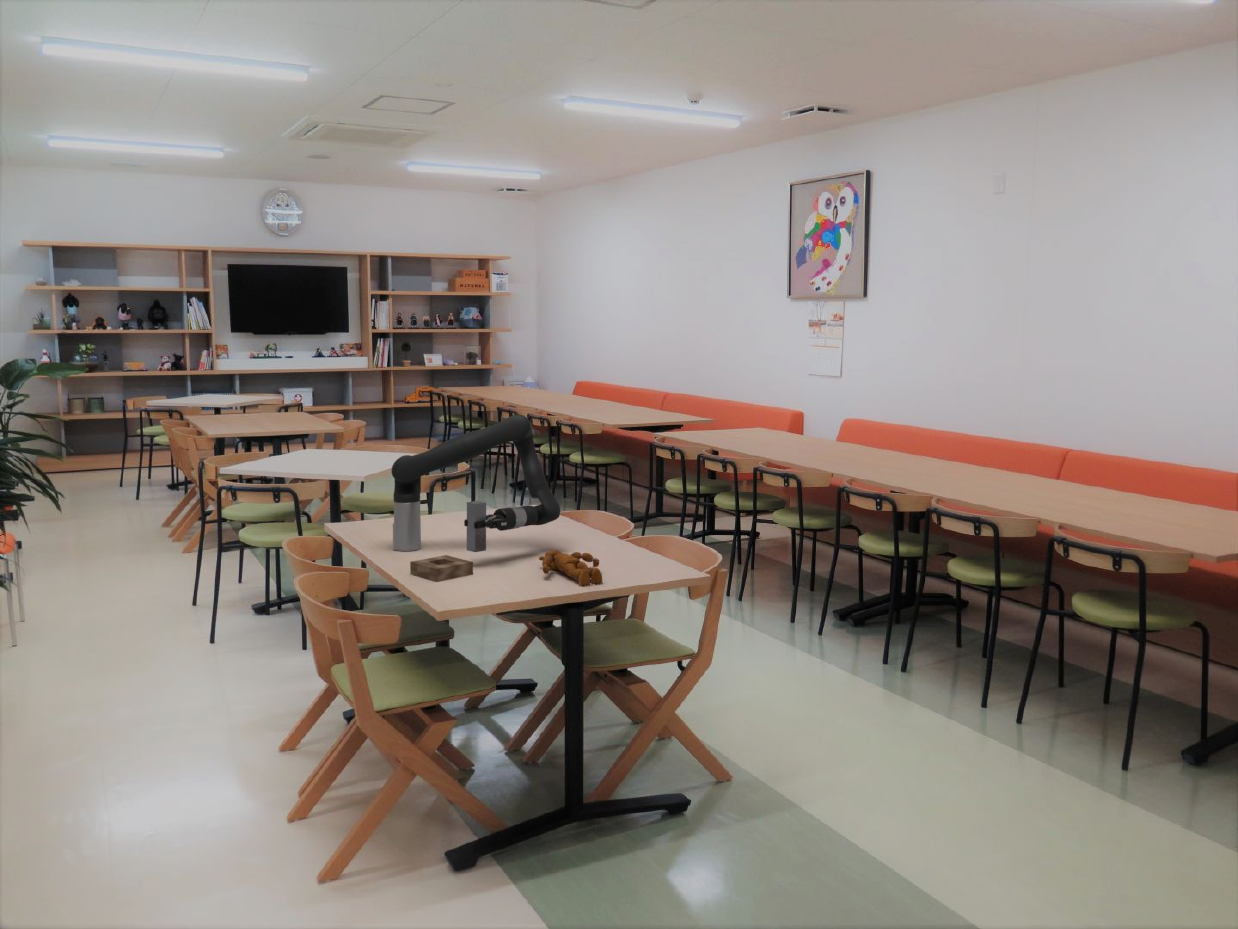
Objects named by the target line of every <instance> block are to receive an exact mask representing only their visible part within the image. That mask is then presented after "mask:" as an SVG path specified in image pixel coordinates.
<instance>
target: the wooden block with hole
mask: <svg viewBox="0 0 1238 929" xmlns="http://www.w3.org/2000/svg"><path fill="white" fill-rule="evenodd" d="M409 563H410V566H409V567H410V568H409V569H410V571H409V572H410V575H411V576H415V577H419V578H422V579H426V580H429V581H433V582H436V583H437V582H442V581H448V580H451V579H452V580H453V579H456V578H461V577H462V578H463V577H467V576H471V575H474V562H473V561H470V560H467V559H463V558H459V557H456V556H451V555H447V554H445V555H440V556H435V557H430V558H424V559H423V558H422V559H419V560H412V561H410V562H409Z"/></svg>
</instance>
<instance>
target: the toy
mask: <svg viewBox="0 0 1238 929" xmlns="http://www.w3.org/2000/svg"><path fill="white" fill-rule="evenodd" d="M538 560H540V561H542V562H541V566H542V572H543V573H544V574H545V575H547V574H549V572H550V571H561V572H562V573H564V574H566V575H567V576H568V577H570V578H573V579H574V580H576V581H578V586H579V587H580V586H582V587H586V586H587V585H589V586H591V585H592V584H595V583H596V584H595V585H598V584H597V583H602V584H603V574H602V573H601V570H600V569H599V565H600V559H599V558H596V557H595V558H594V555H592V554H591V553H587V552H583V553H581V552H578V551H574V552H572V553H571V554H568V553H566V552H562V551H561V550H558V549H557V550H550V551H548V552H546V553H545V554H544V556H539V557H538ZM581 560H582V561H581ZM585 562H586V563H585ZM587 563H592V566H588V564H587ZM583 585H584V586H583ZM585 585H586V586H585Z"/></svg>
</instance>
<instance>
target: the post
mask: <svg viewBox="0 0 1238 929" xmlns="http://www.w3.org/2000/svg"><path fill="white" fill-rule="evenodd" d="M486 515H487V502H485V501H481V500H474V501H467V502H466V519H467V526H466V551H469V552H473V553H478V552H479V553H480V552H485V551H487V528H478V529H475V528H474V522H478V521H484V520H486Z"/></svg>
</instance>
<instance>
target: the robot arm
mask: <svg viewBox="0 0 1238 929" xmlns="http://www.w3.org/2000/svg"><path fill="white" fill-rule="evenodd" d="M511 442H512V443H513V445H514V447H515V449H516V451H517V454H518V456H519V457H518V458H519V459H520V464H521V468H522V473H523V477H524V481H525V484H526V487H527V489H528V494H529V495H530V497H531V498H532V499H538V500H539V502H540V504H538V505H535V506H533V505H520V506H509V507H501V508H496V509H495V511H494V513H491V514H490V513H489V514H486V520H484V521H478V522H474V528H475V529H478V528H486V529H491V530H492V529H497V530H498V531H502V532H503V531H509V530H515V529H519V528H523V527H530V526H541V525H546V524H549V523H550V522H551V523H552V522H554V521H556V520H558V519H559V517H560V516H561V508H560V504H559V502H558V501H557V499H556V498H555V496H554V494H553V492H552V491H551V490H550V488H549V486H548V485H549V484H548V481H547V479H546V476H545V473H544V470H543V467H542V465H541V462H540V459H539V457H538V454H537V451H536V447H535V441H534V434H533V425H532V423H531V421H530V419H529V418H527V417H526V416H525V415H523V414H513V415H511V416H508V417H507V418H505V419H503V420H501V421H498V422H497V423H495V424H492V425H489V426H487V427H482V428H479V429H476V430H474V431H470V432H467V433H463V434H461V435H458V436H455V437H452V438H450V439H448V440H446V441H443V442H442V443H440V444H437V445H435V447H432V448H431V449H429V450H427V451H424V452H420V453H417V454H414V455H409V454H405V455H402V456H399V457H398V458H397V459H396V460H395V461H394V462H393V464H392V465H391V476H392V478H393V480H394V490H393V523H392V550H393V551H398V552H399V551H400V552H413V551H417V550H418V551H419V550H420V549H422V526H421V524H422V522H421V520H422V518H421V493H422V491H421V490H422V485H421V484H422V482H421V481H422V477H423V476H425V475H428V474H430V473H432V472H435V471H438V470H443V469H446V468H449V467H452V466H456V465H459V464H462V463H465V462H468V461H471V460H474V459H475V458H477V457H480V456H481V455H482V454H484V453H485V454H486V453H487V452H488V451H489V450H491V449H493V448H495V447H497V446H499V445H503V444H507V443H511ZM463 522H464V523H463V525H464V527H467V518H466V519H464V521H463Z"/></svg>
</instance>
